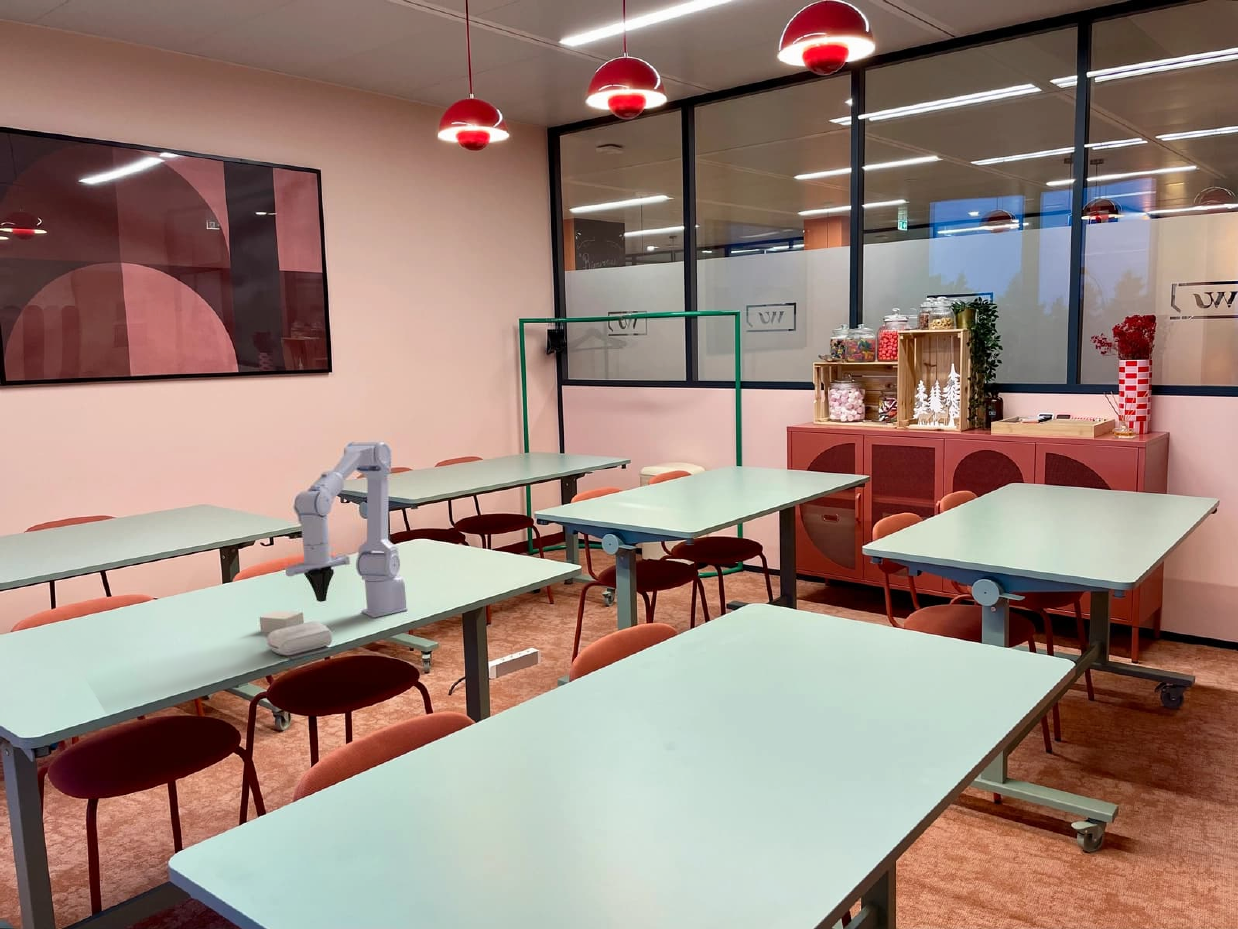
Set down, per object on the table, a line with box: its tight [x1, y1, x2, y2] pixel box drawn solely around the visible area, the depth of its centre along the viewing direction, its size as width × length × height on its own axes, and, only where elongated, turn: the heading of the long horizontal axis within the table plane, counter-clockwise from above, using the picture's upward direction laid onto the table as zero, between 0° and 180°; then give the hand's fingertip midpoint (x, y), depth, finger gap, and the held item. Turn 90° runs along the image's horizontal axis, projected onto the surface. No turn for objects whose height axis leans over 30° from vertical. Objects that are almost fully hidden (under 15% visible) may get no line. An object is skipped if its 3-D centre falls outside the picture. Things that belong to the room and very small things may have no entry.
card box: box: [259, 609, 305, 634], centre depth 224 cm, size 6×8×4 cm
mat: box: [285, 645, 333, 661], centre depth 209 cm, size 9×14×1 cm, turn 38°
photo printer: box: [266, 620, 333, 656], centre depth 208 cm, size 10×4×12 cm
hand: (321, 600), depth 211 cm, fingers closed
